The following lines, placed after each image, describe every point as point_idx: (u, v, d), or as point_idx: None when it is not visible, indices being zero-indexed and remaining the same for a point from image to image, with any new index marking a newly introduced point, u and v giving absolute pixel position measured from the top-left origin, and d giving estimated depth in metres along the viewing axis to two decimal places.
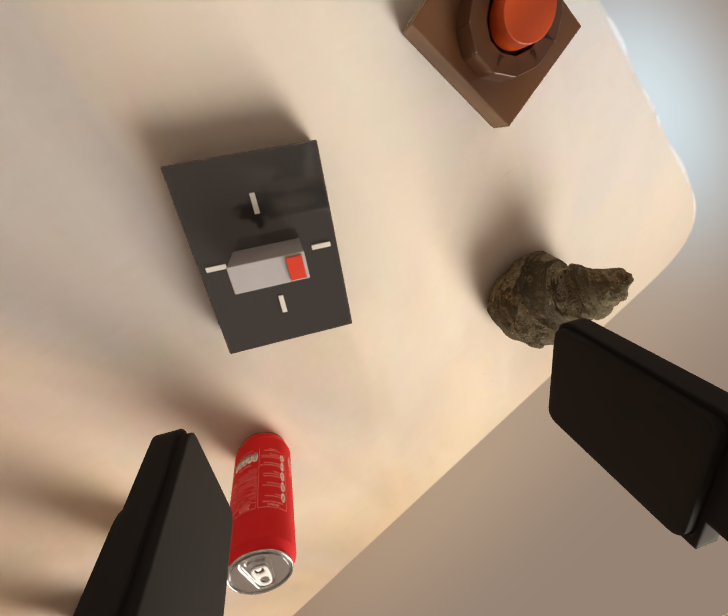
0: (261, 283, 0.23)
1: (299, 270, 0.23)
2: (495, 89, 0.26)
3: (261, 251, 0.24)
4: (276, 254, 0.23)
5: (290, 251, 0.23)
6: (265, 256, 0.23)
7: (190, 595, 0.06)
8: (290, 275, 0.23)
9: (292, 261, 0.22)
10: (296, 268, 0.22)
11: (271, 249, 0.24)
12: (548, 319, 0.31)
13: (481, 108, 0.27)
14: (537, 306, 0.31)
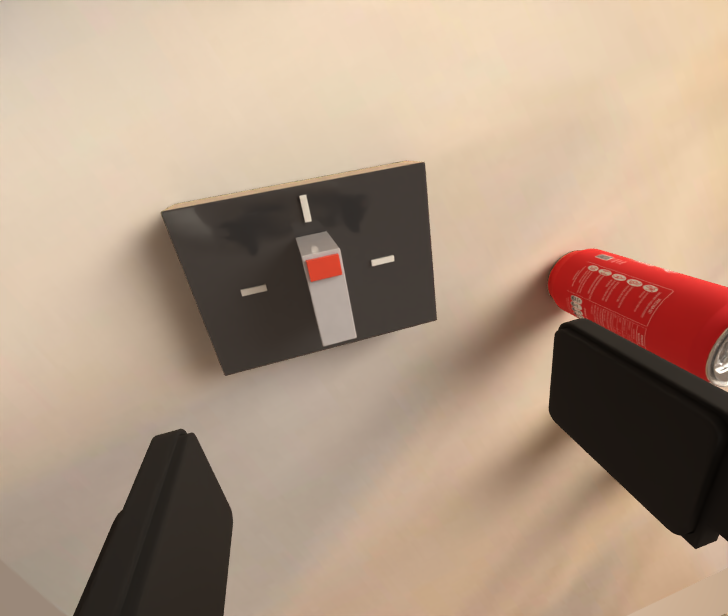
0: (344, 309, 0.18)
1: (327, 264, 0.16)
2: None
3: None
4: (308, 287, 0.17)
5: None
6: (311, 299, 0.18)
7: (190, 595, 0.06)
8: (334, 274, 0.17)
9: (315, 273, 0.16)
10: (325, 268, 0.16)
11: (306, 282, 0.19)
12: None
13: None
14: None
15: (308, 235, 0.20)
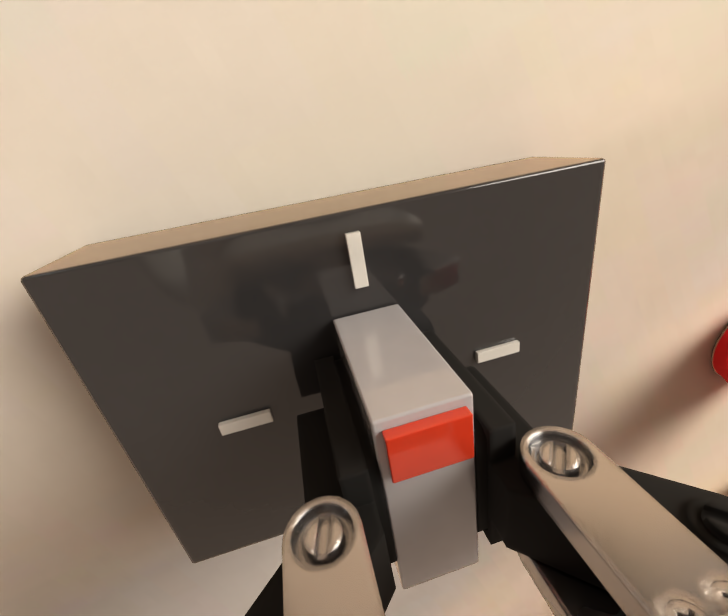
0: (462, 517, 0.07)
1: (441, 440, 0.06)
2: None
3: None
4: None
5: (368, 433, 0.07)
6: None
7: None
8: (451, 454, 0.06)
9: (406, 464, 0.06)
10: (433, 449, 0.06)
11: None
12: None
13: None
14: None
15: (360, 314, 0.09)
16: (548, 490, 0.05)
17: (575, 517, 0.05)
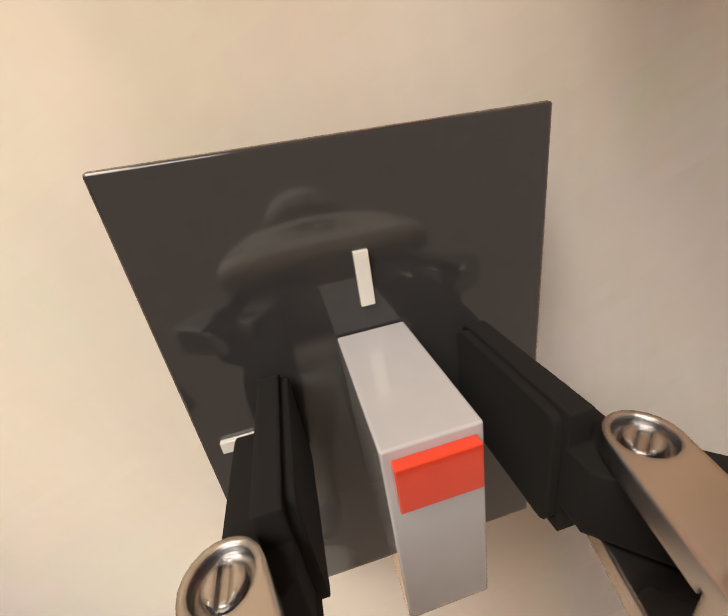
0: (471, 545, 0.07)
1: (451, 470, 0.06)
2: None
3: (369, 466, 0.09)
4: (384, 499, 0.07)
5: (376, 460, 0.06)
6: (386, 514, 0.07)
7: (308, 498, 0.07)
8: (460, 483, 0.06)
9: (415, 495, 0.06)
10: (443, 479, 0.06)
11: (365, 446, 0.08)
12: None
13: None
14: None
15: (365, 332, 0.09)
16: (625, 465, 0.06)
17: (675, 497, 0.05)
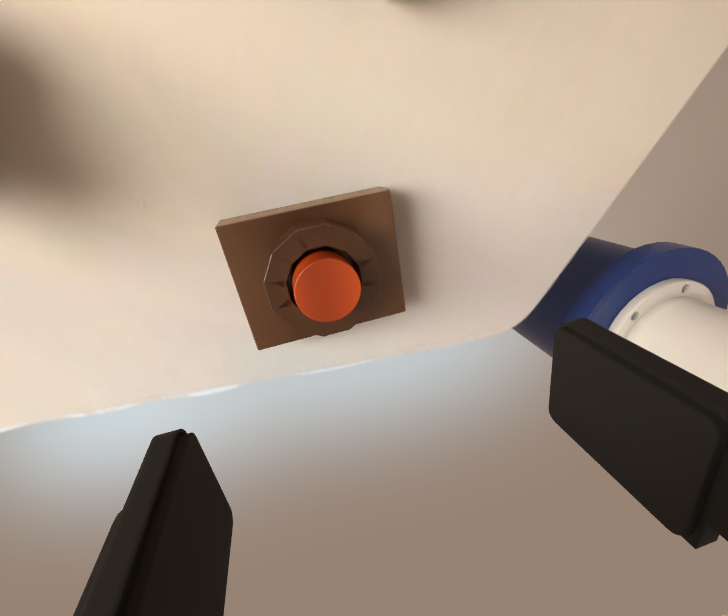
0: None
1: None
2: (268, 234, 0.20)
3: None
4: None
5: None
6: None
7: (190, 595, 0.06)
8: None
9: None
10: None
11: None
12: None
13: (255, 214, 0.21)
14: None
15: None
16: None
17: None
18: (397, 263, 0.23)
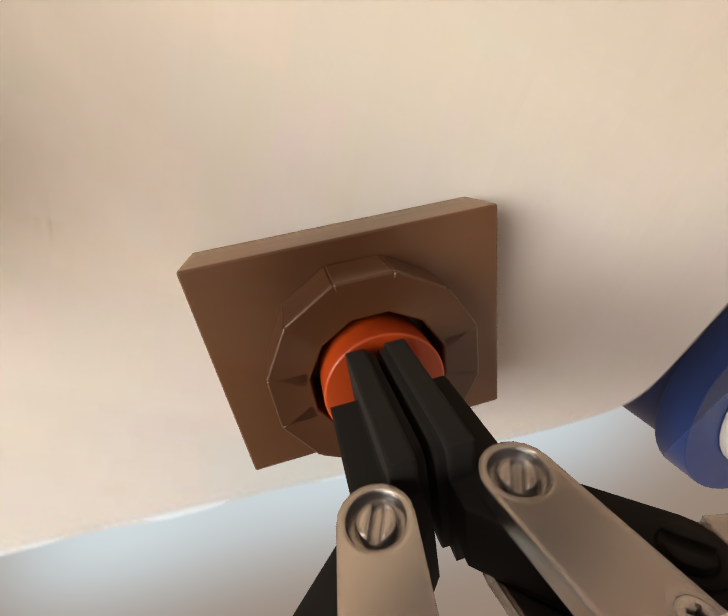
0: None
1: None
2: (278, 284, 0.11)
3: None
4: None
5: None
6: None
7: None
8: None
9: None
10: None
11: None
12: None
13: (254, 245, 0.12)
14: None
15: None
16: (510, 514, 0.05)
17: (525, 541, 0.05)
18: (494, 327, 0.13)
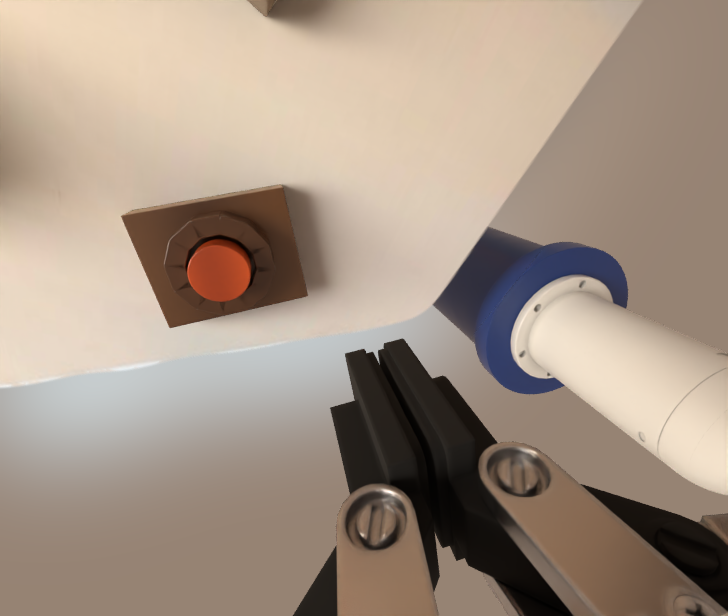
0: None
1: None
2: (171, 224, 0.23)
3: None
4: None
5: None
6: None
7: None
8: None
9: None
10: None
11: None
12: None
13: (162, 206, 0.23)
14: None
15: None
16: (510, 514, 0.05)
17: (525, 541, 0.05)
18: (295, 252, 0.26)
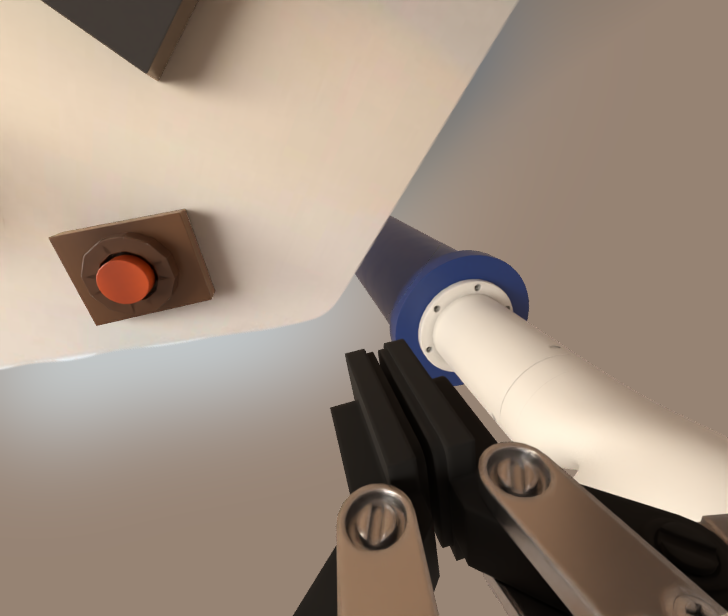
0: None
1: None
2: (90, 243, 0.29)
3: None
4: None
5: None
6: None
7: None
8: None
9: None
10: None
11: None
12: None
13: (85, 228, 0.30)
14: None
15: None
16: (509, 514, 0.05)
17: (525, 541, 0.05)
18: (197, 264, 0.31)
